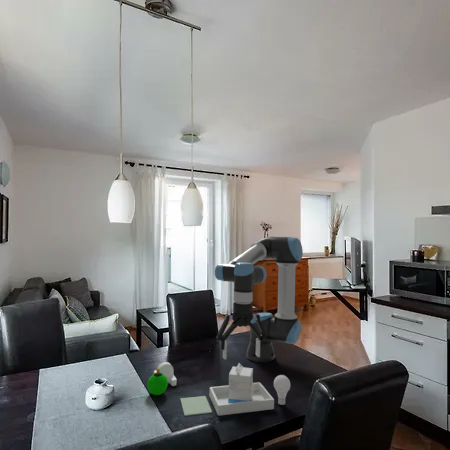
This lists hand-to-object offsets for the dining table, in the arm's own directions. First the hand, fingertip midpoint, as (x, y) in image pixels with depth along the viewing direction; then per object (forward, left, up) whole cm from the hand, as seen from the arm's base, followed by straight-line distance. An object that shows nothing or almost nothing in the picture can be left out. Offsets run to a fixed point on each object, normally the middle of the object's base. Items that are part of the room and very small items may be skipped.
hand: (241, 357), depth 127 cm
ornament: (+31, -13, -18) cm, 38 cm away
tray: (0, 0, -17) cm, 17 cm away
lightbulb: (-15, +5, -18) cm, 24 cm away
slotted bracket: (+27, -25, -18) cm, 41 cm away
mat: (+17, -1, -17) cm, 25 cm away
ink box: (0, 0, -17) cm, 17 cm away
